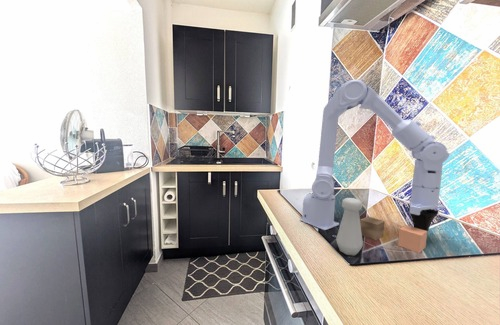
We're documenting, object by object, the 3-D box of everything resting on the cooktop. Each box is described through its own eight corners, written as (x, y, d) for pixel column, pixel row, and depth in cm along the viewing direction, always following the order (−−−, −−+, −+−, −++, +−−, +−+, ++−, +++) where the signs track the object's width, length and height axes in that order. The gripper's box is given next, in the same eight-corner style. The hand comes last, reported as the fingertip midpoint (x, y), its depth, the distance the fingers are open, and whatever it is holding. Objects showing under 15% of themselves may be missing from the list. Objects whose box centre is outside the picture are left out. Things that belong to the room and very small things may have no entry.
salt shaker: (365, 259, 47) (369, 203, 46) (338, 256, 48) (342, 201, 47) (357, 246, 53) (361, 196, 51) (333, 243, 54) (336, 195, 53)
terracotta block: (398, 245, 54) (399, 228, 53) (404, 240, 57) (406, 225, 56) (419, 253, 50) (421, 235, 50) (425, 247, 53) (427, 231, 52)
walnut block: (359, 234, 60) (360, 219, 60) (366, 230, 63) (367, 216, 62) (375, 240, 56) (377, 224, 56) (383, 236, 59) (384, 221, 59)
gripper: (437, 193, 48) (431, 248, 50) (452, 186, 57) (446, 233, 58) (402, 187, 54) (397, 237, 55) (420, 181, 62) (415, 225, 64)
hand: (420, 234), depth 57 cm, fingers closed
